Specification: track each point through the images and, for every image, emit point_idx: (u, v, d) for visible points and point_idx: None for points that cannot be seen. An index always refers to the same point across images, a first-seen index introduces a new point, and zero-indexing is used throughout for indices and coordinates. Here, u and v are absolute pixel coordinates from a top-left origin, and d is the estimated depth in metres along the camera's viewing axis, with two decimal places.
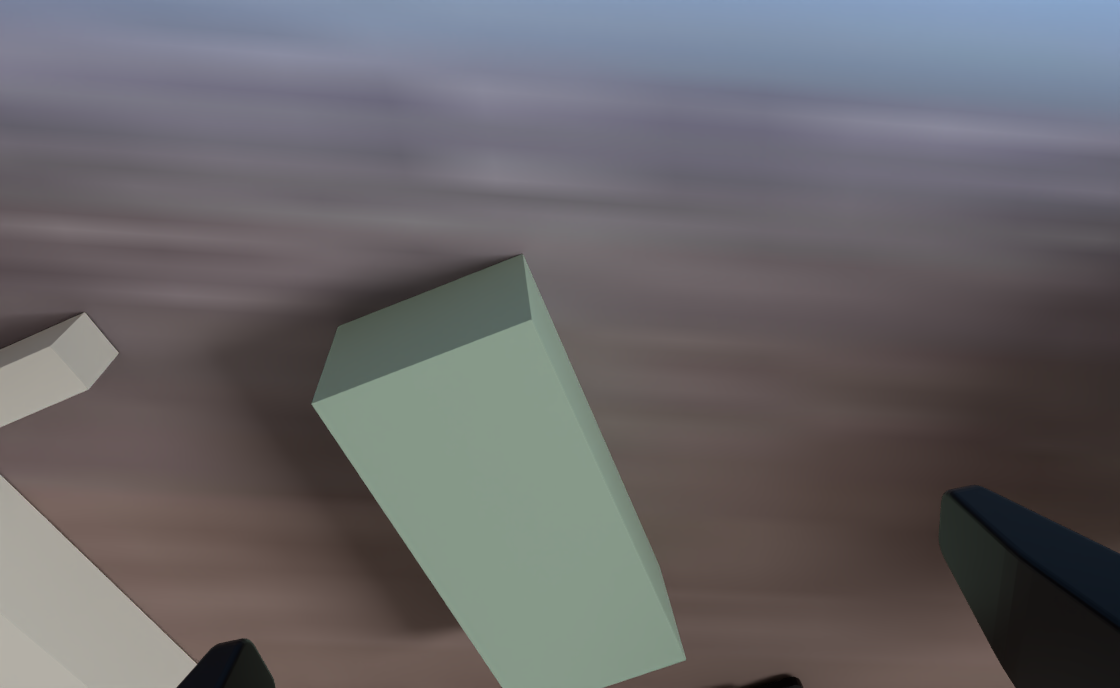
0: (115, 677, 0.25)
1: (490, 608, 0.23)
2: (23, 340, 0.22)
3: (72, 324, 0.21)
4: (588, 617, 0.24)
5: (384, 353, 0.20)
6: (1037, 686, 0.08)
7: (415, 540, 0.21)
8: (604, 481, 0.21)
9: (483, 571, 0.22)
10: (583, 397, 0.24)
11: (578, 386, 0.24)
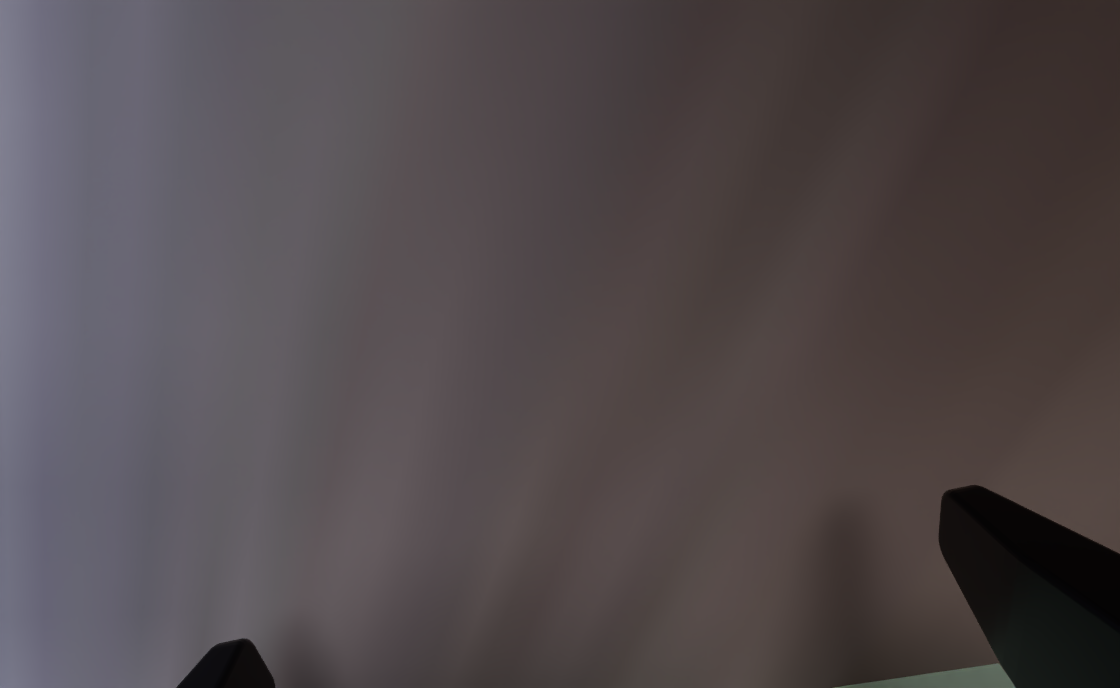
0: None
1: None
2: None
3: None
4: None
5: None
6: (1037, 686, 0.08)
7: None
8: None
9: None
10: None
11: None
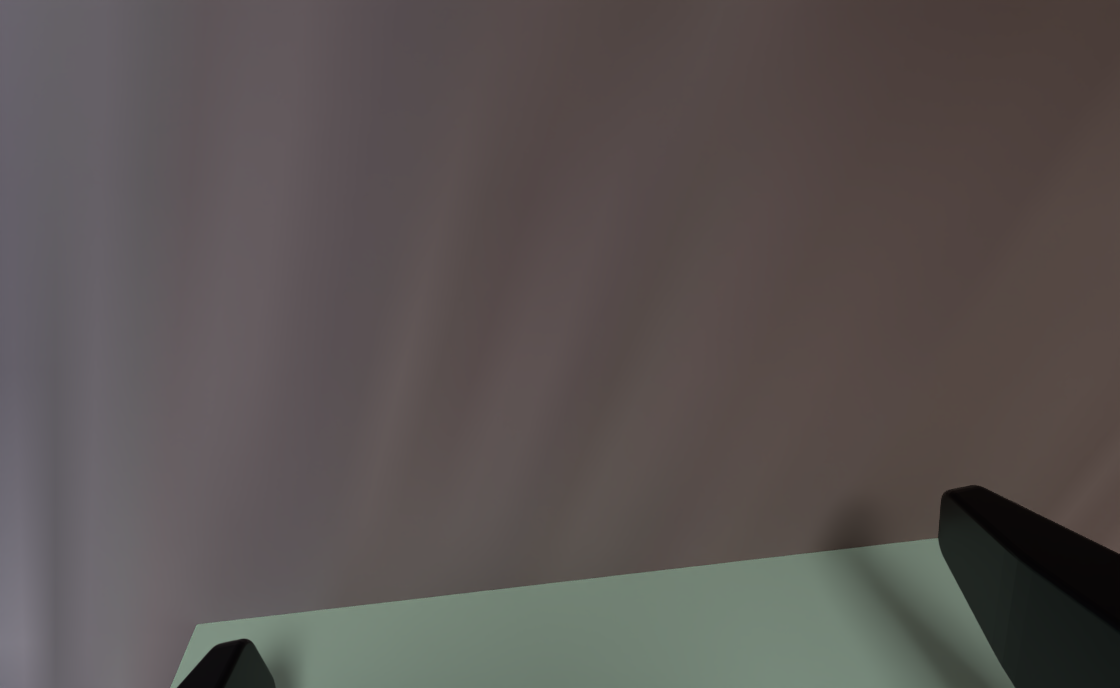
0: None
1: None
2: None
3: None
4: None
5: None
6: (1037, 686, 0.08)
7: None
8: None
9: None
10: (512, 618, 0.12)
11: (484, 621, 0.12)
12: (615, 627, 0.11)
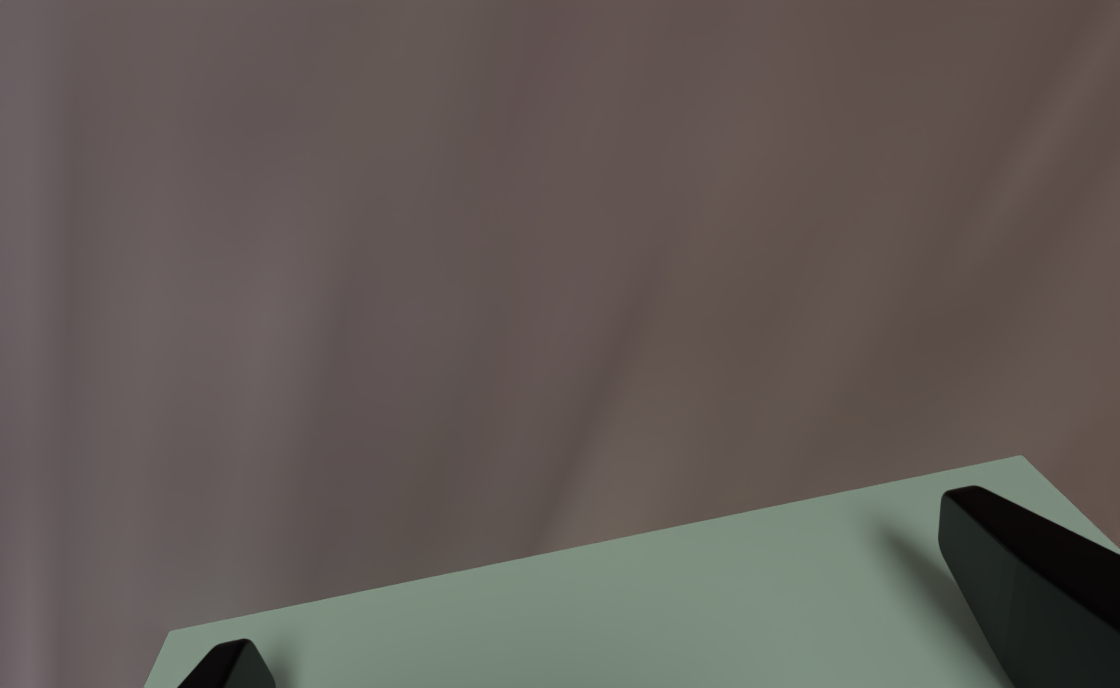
0: None
1: None
2: None
3: None
4: None
5: None
6: (1036, 686, 0.08)
7: None
8: None
9: None
10: (475, 597, 0.12)
11: (447, 602, 0.12)
12: (577, 596, 0.11)
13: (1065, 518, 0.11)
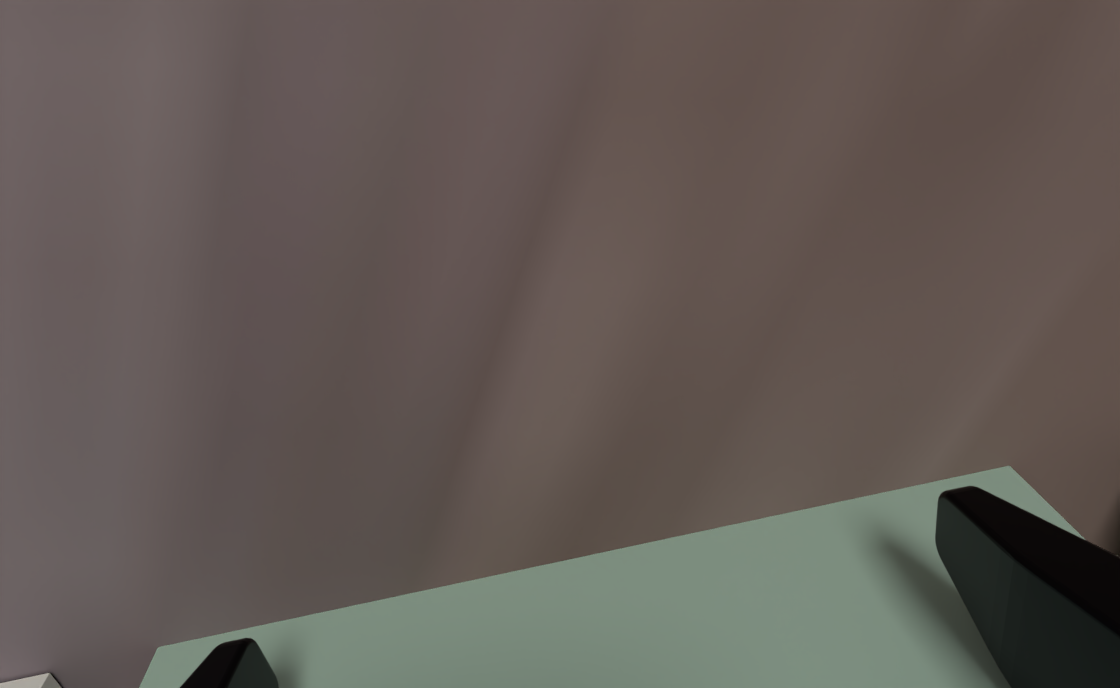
0: None
1: None
2: None
3: None
4: None
5: None
6: (1033, 687, 0.08)
7: None
8: None
9: None
10: (462, 620, 0.11)
11: (434, 626, 0.11)
12: (566, 620, 0.11)
13: None
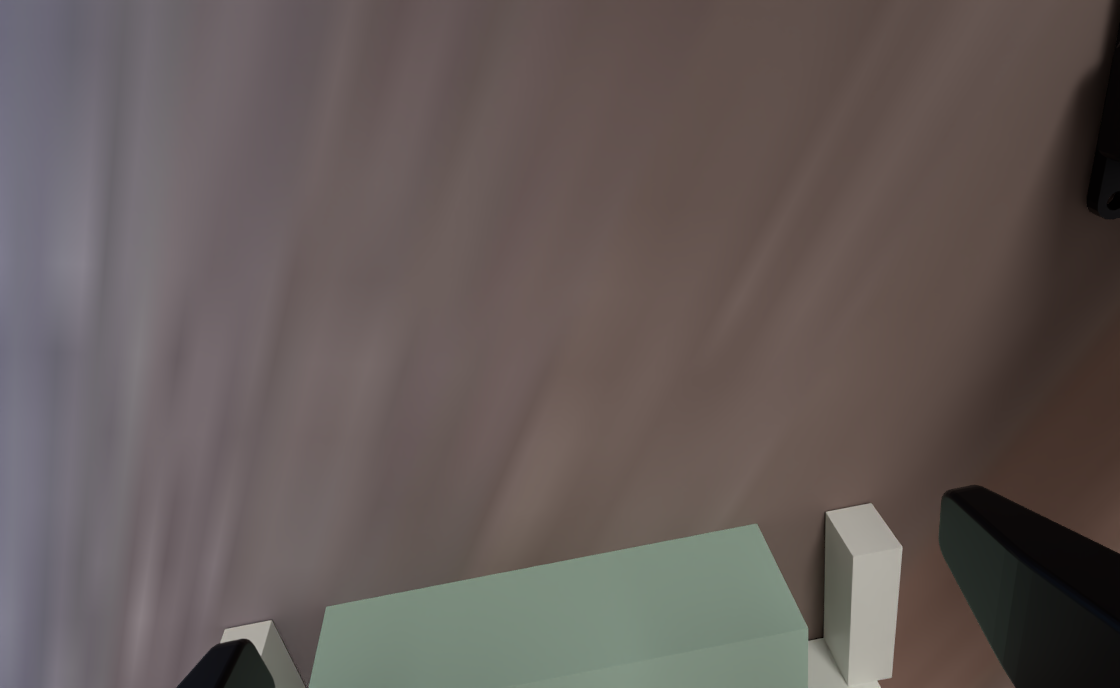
0: None
1: None
2: None
3: None
4: None
5: None
6: (1037, 686, 0.08)
7: None
8: None
9: None
10: (483, 590, 0.23)
11: (469, 593, 0.23)
12: (533, 591, 0.23)
13: (763, 556, 0.23)
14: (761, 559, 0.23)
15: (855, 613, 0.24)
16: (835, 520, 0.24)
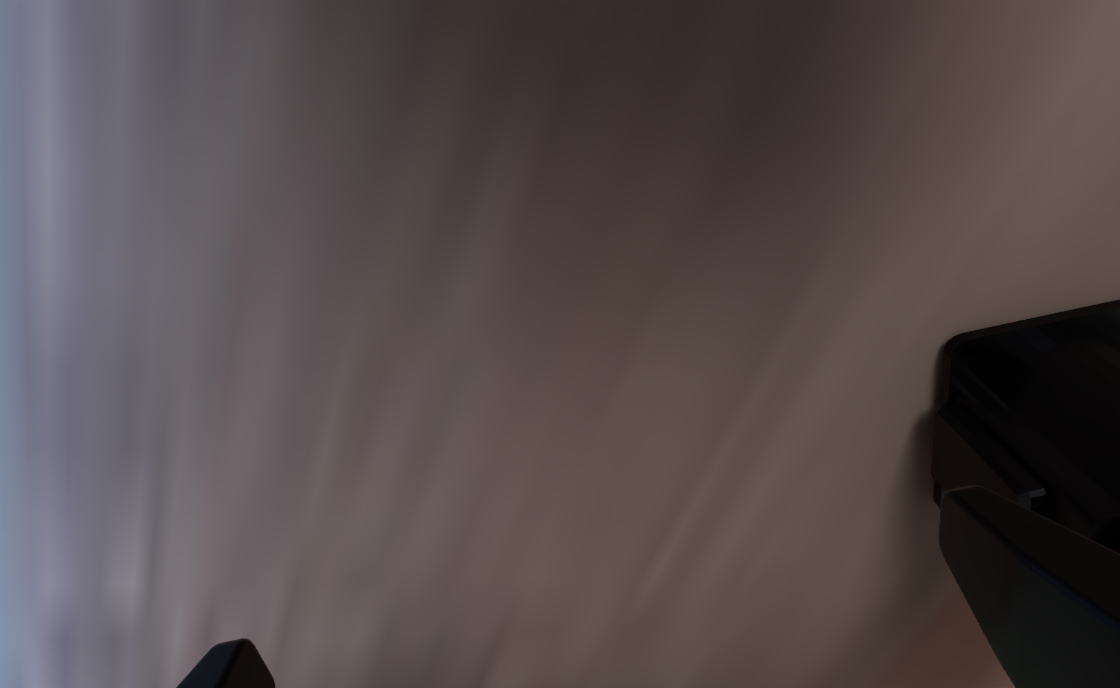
0: None
1: None
2: None
3: None
4: None
5: None
6: (1037, 686, 0.08)
7: None
8: None
9: None
10: None
11: None
12: None
13: None
14: None
15: None
16: None
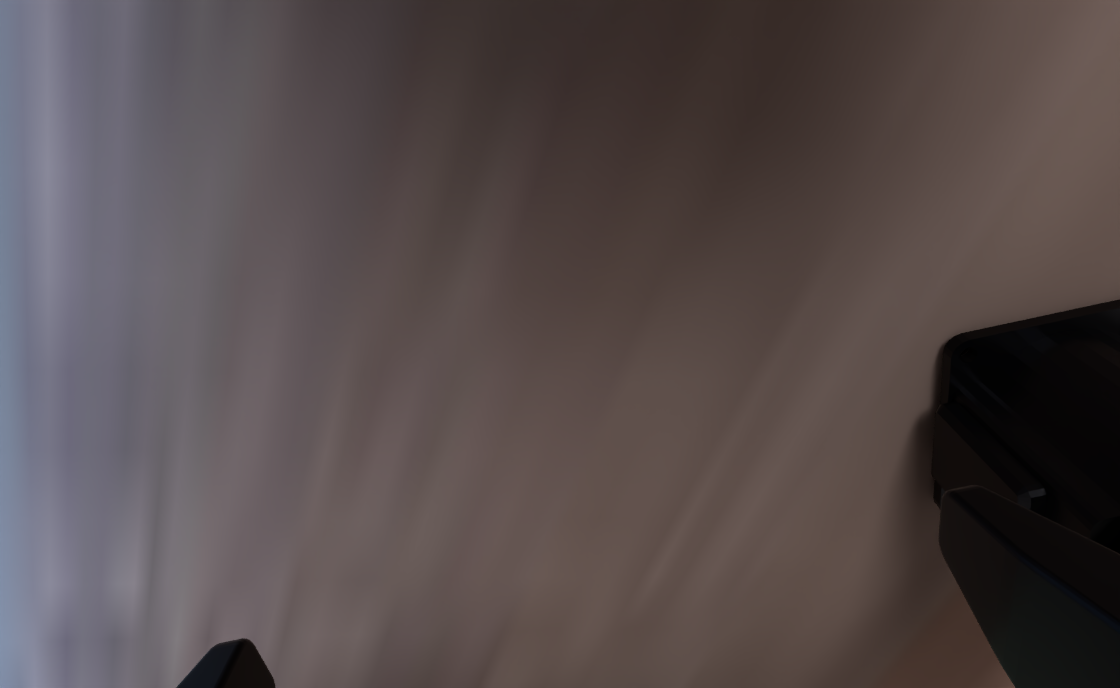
0: None
1: None
2: None
3: None
4: None
5: None
6: (1037, 686, 0.08)
7: None
8: None
9: None
10: None
11: None
12: None
13: None
14: None
15: None
16: None
